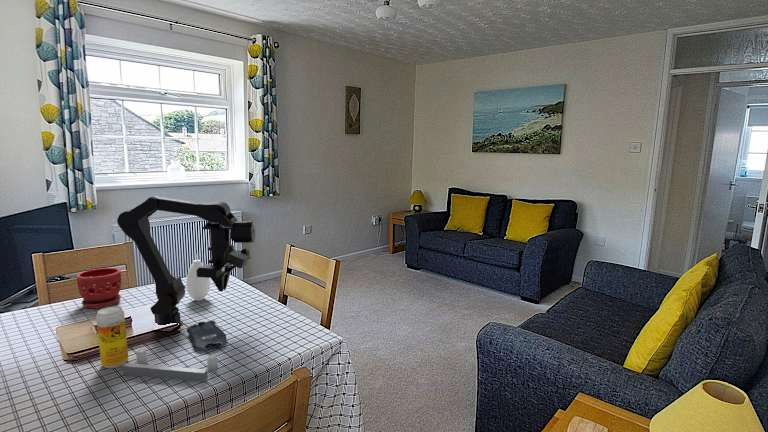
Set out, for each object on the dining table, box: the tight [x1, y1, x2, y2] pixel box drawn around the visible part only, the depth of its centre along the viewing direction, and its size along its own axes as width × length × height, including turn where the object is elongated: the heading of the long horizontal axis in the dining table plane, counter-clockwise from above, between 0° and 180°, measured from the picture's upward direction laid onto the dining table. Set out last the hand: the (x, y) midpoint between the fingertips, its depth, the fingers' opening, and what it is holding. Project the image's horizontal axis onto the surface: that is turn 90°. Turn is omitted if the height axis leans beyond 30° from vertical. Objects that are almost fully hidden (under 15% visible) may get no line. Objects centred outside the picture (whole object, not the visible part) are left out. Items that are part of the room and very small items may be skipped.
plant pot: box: [76, 267, 122, 309], centre depth 148 cm, size 13×13×12 cm
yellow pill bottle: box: [96, 305, 129, 369], centre depth 108 cm, size 6×6×15 cm
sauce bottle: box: [185, 253, 211, 302], centre depth 152 cm, size 8×8×18 cm
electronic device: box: [186, 320, 228, 352], centre depth 123 cm, size 9×6×15 cm
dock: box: [121, 348, 219, 383], centre depth 106 cm, size 22×7×4 cm, turn 83°
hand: (222, 290), depth 131 cm, fingers closed
